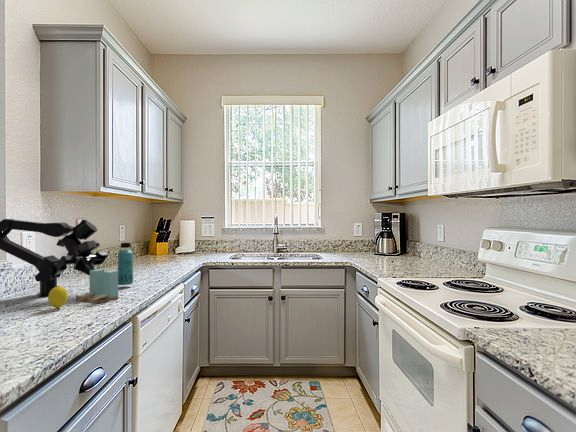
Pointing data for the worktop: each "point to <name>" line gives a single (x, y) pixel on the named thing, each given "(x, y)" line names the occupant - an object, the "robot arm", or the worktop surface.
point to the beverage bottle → (125, 265)
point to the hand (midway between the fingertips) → (93, 276)
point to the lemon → (57, 297)
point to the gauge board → (95, 298)
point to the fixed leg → (110, 284)
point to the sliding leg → (96, 282)
